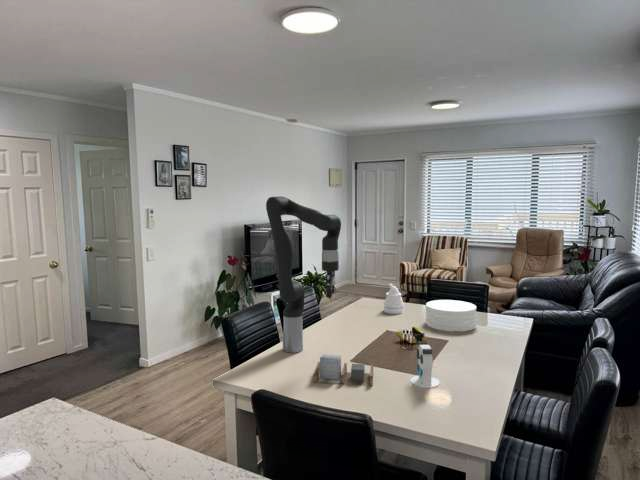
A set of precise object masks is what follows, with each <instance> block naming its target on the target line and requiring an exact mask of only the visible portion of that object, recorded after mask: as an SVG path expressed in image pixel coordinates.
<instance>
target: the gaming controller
mask: <svg viewBox="0 0 640 480" xmlns="http://www.w3.org/2000/svg"><path fill="white" fill-rule="evenodd" d="M401 332H403V331H401V330H398V331H397V332H396V336H397V337H398V338H399V339H400V334H401ZM411 333H413V343H412V344H418V341H425V339H426V333H425V332H422V331H421V330H420V329H419V327H418V326H416V325H415V326H412V327H411Z"/></svg>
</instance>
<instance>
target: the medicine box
mask: <svg viewBox="0 0 640 480" xmlns="http://www.w3.org/2000/svg"><path fill="white" fill-rule="evenodd" d="M319 362H320V378H327V379H336V380H339V379H340V377H341V372H342V356H341V355H337V354H326V353H323V354H322V355H321V356H320V357H319Z"/></svg>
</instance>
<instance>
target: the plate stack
mask: <svg viewBox="0 0 640 480" xmlns="http://www.w3.org/2000/svg"><path fill="white" fill-rule="evenodd" d="M425 325H426V326H428V327H429V328H432V329H435V330H438V331H443V330H444V331H445V332H454V331H460V332H469V331H472V329H473V330H474V328H475V327H476V328H477V305H476V304H473V303H472V302H467V301H463V300H458V299H457V300H454V299H435V300H430V301H427V302H426V303H425ZM476 328H475V329H476ZM468 330H469V331H468Z"/></svg>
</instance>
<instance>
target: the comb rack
mask: <svg viewBox="0 0 640 480" xmlns="http://www.w3.org/2000/svg"><path fill="white" fill-rule="evenodd" d="M347 366H348V364H347V362H344V363H343V367H342V370H341V377H340V379H339V380H336V379H327V378H320V361H318V362H317V365H316V366H315V369H314V371H313V384H324V385H325V384H326V385H341V386H342V385H343V386H360V387H361V386H363V387H373V386H374V385H373V383H374V363H373V364H370V369H369V370H370V371H369V373H365V377H364V382H351V372H348V367H347Z"/></svg>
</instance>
